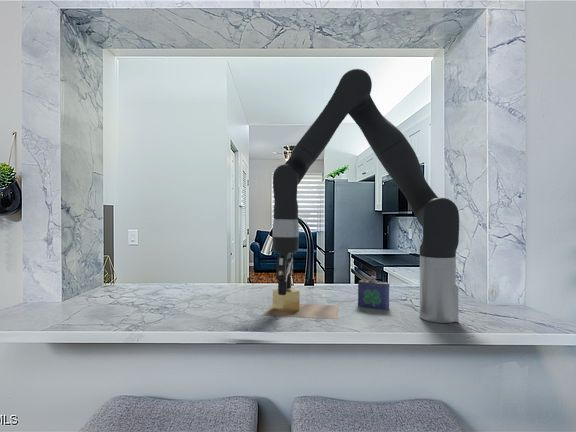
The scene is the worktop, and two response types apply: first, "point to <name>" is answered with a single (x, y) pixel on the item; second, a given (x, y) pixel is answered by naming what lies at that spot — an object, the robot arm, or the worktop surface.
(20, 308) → the worktop surface
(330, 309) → the bolt base
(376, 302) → the clover print carton
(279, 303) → the cap
